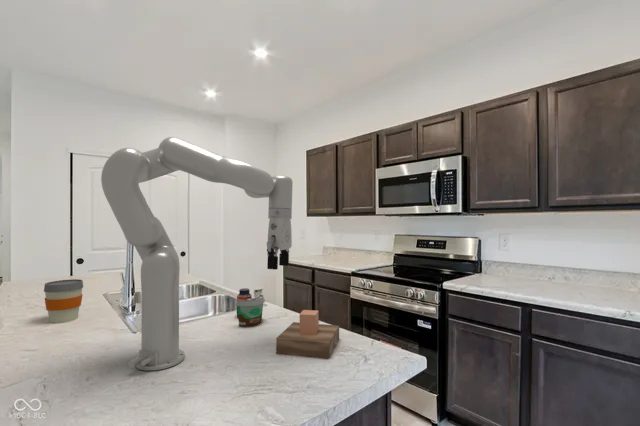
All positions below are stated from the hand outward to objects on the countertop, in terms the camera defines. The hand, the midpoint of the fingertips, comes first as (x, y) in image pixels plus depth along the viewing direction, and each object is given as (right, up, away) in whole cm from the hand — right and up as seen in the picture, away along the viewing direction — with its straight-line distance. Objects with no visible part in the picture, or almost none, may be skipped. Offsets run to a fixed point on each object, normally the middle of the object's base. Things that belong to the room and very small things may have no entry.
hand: (278, 267), depth 107 cm
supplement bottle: (-17, -25, +28) cm, 41 cm away
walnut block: (+10, -25, -3) cm, 27 cm away
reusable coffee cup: (-89, -25, +25) cm, 96 cm away
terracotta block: (+10, -20, -3) cm, 22 cm away
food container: (-12, -25, +18) cm, 33 cm away
